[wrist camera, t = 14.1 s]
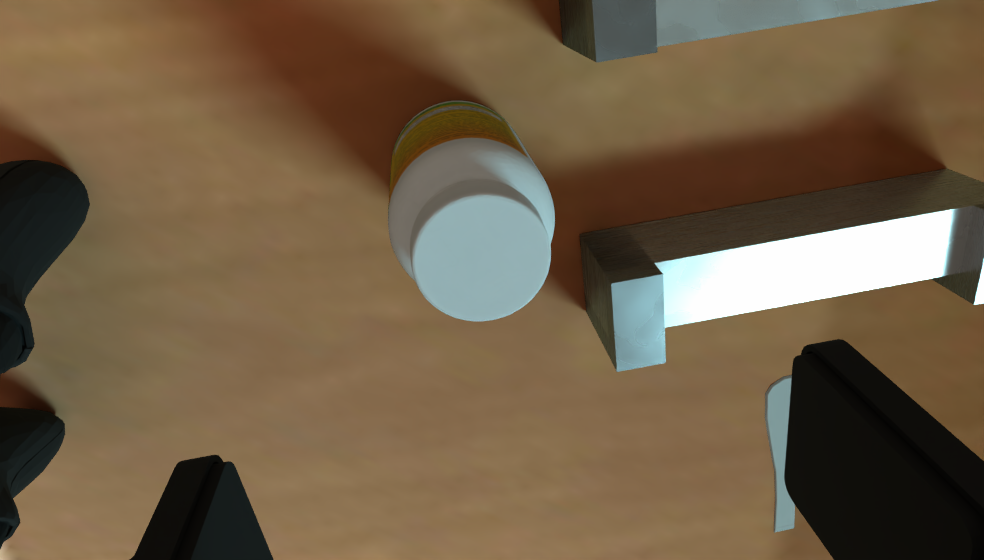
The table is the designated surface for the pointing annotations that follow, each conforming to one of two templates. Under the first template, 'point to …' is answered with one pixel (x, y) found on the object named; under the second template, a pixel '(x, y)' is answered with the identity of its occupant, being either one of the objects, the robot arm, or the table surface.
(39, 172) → the gaming controller
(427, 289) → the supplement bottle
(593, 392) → the table surface
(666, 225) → the channel bracket
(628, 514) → the table surface
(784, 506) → the butter knife
